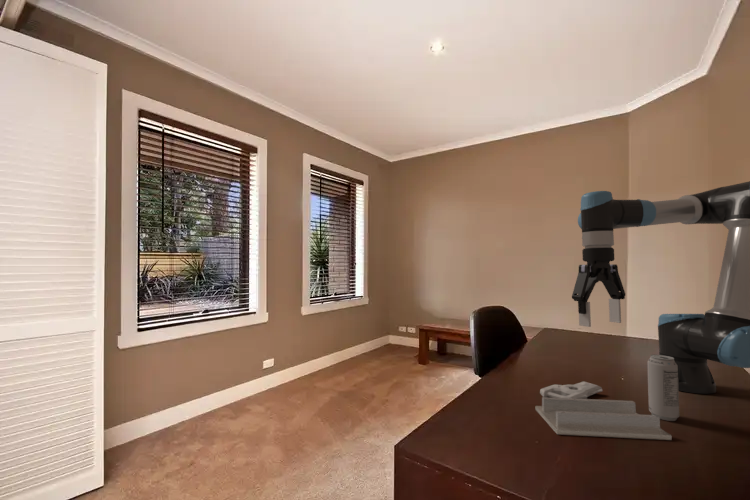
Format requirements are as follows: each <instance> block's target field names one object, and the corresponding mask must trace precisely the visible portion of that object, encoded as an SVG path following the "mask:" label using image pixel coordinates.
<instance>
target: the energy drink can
mask: <svg viewBox="0 0 750 500" xmlns="http://www.w3.org/2000/svg"><path fill="white" fill-rule="evenodd" d="M649 356H650V357H649V358H648V360H647V391H648V392H647V395H648V399H647V400H648V411H649V412H650V413H651V415H657V416H658V417H660V420H664V421H668V422H669V421H670V422H675V421H677V420H678V418H679V417H680V399H679V398H680V397H679V396H680V395H679V392H680V391H679V390H678V365H677V364H676V362H675V361H674V358H673V357H670V356H664V355H659V354H650V355H649Z"/></svg>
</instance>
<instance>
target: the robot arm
mask: <svg viewBox="0 0 750 500" xmlns="http://www.w3.org/2000/svg"><path fill="white" fill-rule="evenodd" d="M580 198H581V199H580V209H579V210H580V213H579V214H578V217H577V224H578V226H579V228H580V229H581V234H582V235H581V239H582V240H581V241H582V243H581V245H582V246H583V247H584V248H583V249H582V250H581V251H582V261H583V262H586V264H579V265H578V273H577V276H576V280H575V284H574V287H573V289H572V290H573V291H572V295H571V299H572V300H573V301H574V302H577V308H578V309H577V312H578V326H582V327H587V328H588V327H589V328H591V327H592V324H591V323H592V320H591V302H590V301H589V299H590V297H591V294H592V292H593V291H594V288H595V286H596V284H597V283H599V282H602V284H603V287H604V288H605V290H606V291H607V294H608V295H609V297H610V298H608V309H609V310H608V312H609V322H611V323H619V324H620V323H622V314H621V313H622V311H621V300H625V299H626V291H625V287H624V285H623V283H622V279H621V277H620V274H619V268H618V264H610V262H613V261H614V260H615V249H614V248H613V247H612V246H614V245H615V240H614V238H615V237H614V230H618V229H626V228H628V229H629V228H639V227H647V226H658V225H664V224H665V225H666V224H667V225H668V224H675V223H681V224H683V225H696V224H697V225H699V224H701V225H704V224H705V225H706V224H707V225H708V224H710V225H712V224H713V225H718V224H719V225H720V224H722V225H723V227H725V228H726V229H727V230H728V232H727V237H726V240H725V241H726V242H725V247H724V252H723V257H722V261H721V266H720V272H719V278H718V283H717V288H716V294H715V297H714V303H713V307H712V308H709V309H708V310H706V311H705V313H704V314H703V313H662V314H660V315H659V316H658V324H657V334H658V335H657V336H658V350H659V351H658V352H659V353H658V355H664V356H670V357H673V358H674V361H675V362H676V364H677V365H678V392H680V391H681V392H685V393H693V394H701V395H702V394H703V395H704V394H706V395H707V394H715V393H716V392H717V383H716V381H715V379H714V377H713V374H712V372H711V370H710V368H709V365H708V361H712V362H715V363H716V362H717V363H720V364H723V365H726V366H729V367H735V368H736V367H737V368H741V369H750V181H744V182H741V183H740V182H739V183H736V184H731V185H725V186H721V187H717V188H713V189H709V190H706V191H702V192H701V191H700V192H698V193H694V194H693V193H692V194H686V195H683V196H681V197H679V198H677V199H666V200H656V201H650V200H648V199H639V198H638V199H613V198H614V197H613V193H612V192H611V191H607V190H596V191H595V190H594V191H590V192H586V193H584V194H582V195H581V197H580Z"/></svg>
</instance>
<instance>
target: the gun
mask: <svg viewBox="0 0 750 500" xmlns="http://www.w3.org/2000/svg"><path fill="white" fill-rule="evenodd" d="M603 391H604V390H603V388H602V386H600V385H598V384H594V383H590V382H587V381H584V380H583V381H581V382H577V383H575V384H563V385H562V384H552V385H548V386H545V387H542V388H540V390H539V394H540V395H541V396H542V397H548V398H573V399H588V397H591V396H593V395H597V394H598V393H601V392H603Z"/></svg>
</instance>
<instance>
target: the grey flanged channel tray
mask: <svg viewBox="0 0 750 500" xmlns="http://www.w3.org/2000/svg"><path fill="white" fill-rule="evenodd" d="M636 407H637V406H636V402H635V401H633V400H622V399H621V400H620V399H618V400H616V399H594V398H592V399H591V398H587V399H573V398H552V397H549V396H548V397H543V396H542V397H541V405H535V411H536V413H537V414H539V415H540V417H541V418H542V419H543V420H544V421H545V422H546V423H547V425H548V426H549V427H550V428H551V429H552V430H553V432H554V433H556V435H560V436H561V435H563V436H578V437H579V436H580V437H582V436H583V437H597V438H598V437H601V438H619V439H621V438H622V439H623V438H624V439H641V440H657V441H658V440H660V441H673V440H672V434H671V433H669V432H667V431H665V430H664V429H662V428H661V419H660V417H658V416H657V415H652V414H639V413H637V411H636Z"/></svg>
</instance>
